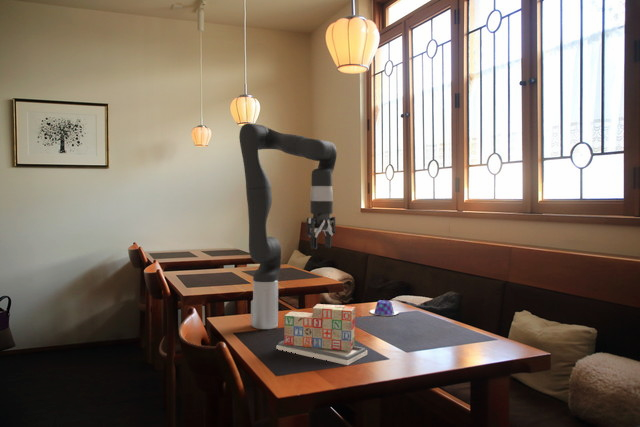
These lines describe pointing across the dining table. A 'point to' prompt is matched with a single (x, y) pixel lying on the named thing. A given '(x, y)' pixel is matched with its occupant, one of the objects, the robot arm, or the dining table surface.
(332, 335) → the stack of blocks
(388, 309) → the blue checkered hat
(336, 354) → the base board
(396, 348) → the dining table surface
